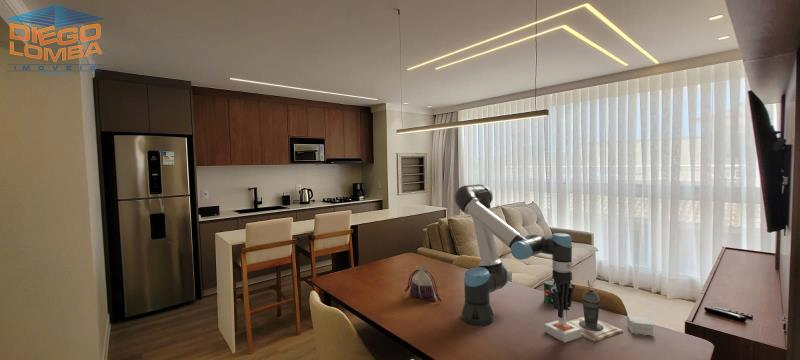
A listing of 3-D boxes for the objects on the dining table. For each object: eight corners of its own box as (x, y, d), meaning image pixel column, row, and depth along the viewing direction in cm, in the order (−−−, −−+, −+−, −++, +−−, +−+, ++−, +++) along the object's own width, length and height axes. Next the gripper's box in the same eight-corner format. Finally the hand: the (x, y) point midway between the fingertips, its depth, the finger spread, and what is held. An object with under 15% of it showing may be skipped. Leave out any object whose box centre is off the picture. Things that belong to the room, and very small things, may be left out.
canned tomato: (540, 301, 177) (540, 281, 177) (550, 298, 181) (550, 278, 180) (553, 307, 170) (553, 285, 170) (563, 303, 174) (563, 283, 173)
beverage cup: (591, 330, 142) (590, 284, 141) (577, 323, 149) (577, 279, 148) (604, 328, 144) (604, 282, 143) (590, 320, 151) (590, 277, 150)
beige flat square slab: (594, 341, 136) (594, 338, 135) (561, 325, 150) (561, 322, 150) (622, 332, 143) (622, 328, 143) (588, 317, 157) (588, 314, 157)
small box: (647, 328, 146) (647, 317, 145) (653, 337, 138) (653, 325, 138) (626, 325, 149) (626, 314, 149) (631, 333, 141) (631, 322, 141)
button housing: (564, 342, 136) (564, 334, 136) (545, 331, 145) (544, 324, 145) (581, 337, 140) (581, 328, 140) (561, 326, 149) (561, 319, 149)
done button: (563, 334, 139) (563, 329, 138) (552, 328, 144) (552, 324, 144) (573, 331, 141) (573, 326, 141) (562, 326, 146) (561, 321, 146)
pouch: (399, 297, 189) (398, 264, 188) (407, 292, 196) (406, 260, 195) (439, 305, 176) (438, 270, 175) (446, 300, 183) (445, 266, 182)
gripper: (558, 274, 135) (558, 331, 136) (580, 270, 141) (580, 324, 141) (543, 269, 142) (544, 323, 143) (565, 265, 147) (565, 317, 148)
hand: (562, 324), depth 142 cm, fingers closed
